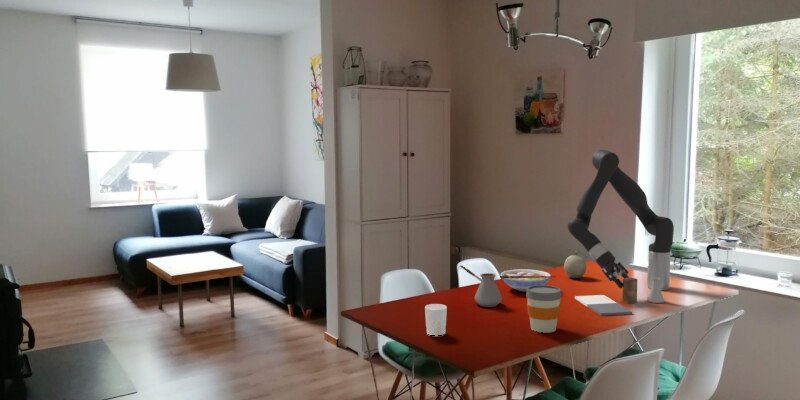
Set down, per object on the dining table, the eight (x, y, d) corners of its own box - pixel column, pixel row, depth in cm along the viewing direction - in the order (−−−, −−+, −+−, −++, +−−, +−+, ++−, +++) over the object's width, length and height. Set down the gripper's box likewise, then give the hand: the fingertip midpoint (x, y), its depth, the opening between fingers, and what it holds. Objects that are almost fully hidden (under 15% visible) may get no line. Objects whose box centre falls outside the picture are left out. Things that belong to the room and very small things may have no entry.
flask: (666, 304, 253) (667, 280, 252) (648, 303, 254) (648, 280, 253) (662, 299, 260) (663, 276, 259) (644, 298, 261) (645, 276, 260)
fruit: (590, 280, 296) (591, 250, 295) (567, 280, 297) (567, 250, 295) (584, 275, 307) (584, 246, 305) (561, 275, 307) (562, 246, 305)
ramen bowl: (547, 283, 291) (547, 267, 290) (558, 296, 268) (558, 278, 267) (495, 284, 291) (495, 267, 291) (501, 296, 269) (501, 278, 268)
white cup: (424, 330, 224) (423, 304, 223) (445, 329, 224) (444, 303, 223) (426, 337, 216) (426, 310, 215) (448, 336, 216) (448, 309, 215)
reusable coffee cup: (537, 321, 232) (537, 283, 230) (567, 328, 223) (567, 288, 222) (519, 329, 223) (519, 289, 221) (549, 336, 214) (550, 295, 213)
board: (574, 298, 263) (574, 296, 263) (603, 297, 265) (603, 294, 265) (600, 315, 238) (600, 313, 238) (632, 314, 239) (632, 311, 239)
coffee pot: (507, 304, 257) (507, 269, 255) (490, 310, 249) (490, 274, 247) (468, 295, 272) (467, 262, 270) (451, 300, 264) (451, 267, 262)
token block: (622, 302, 257) (622, 279, 256) (626, 300, 260) (627, 277, 259) (632, 303, 254) (633, 280, 253) (636, 301, 257) (637, 278, 256)
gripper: (600, 252, 256) (625, 283, 250) (615, 248, 267) (640, 277, 260) (588, 263, 261) (613, 293, 254) (603, 258, 271) (627, 287, 264)
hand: (626, 285), depth 257 cm, fingers open, 8 cm apart
